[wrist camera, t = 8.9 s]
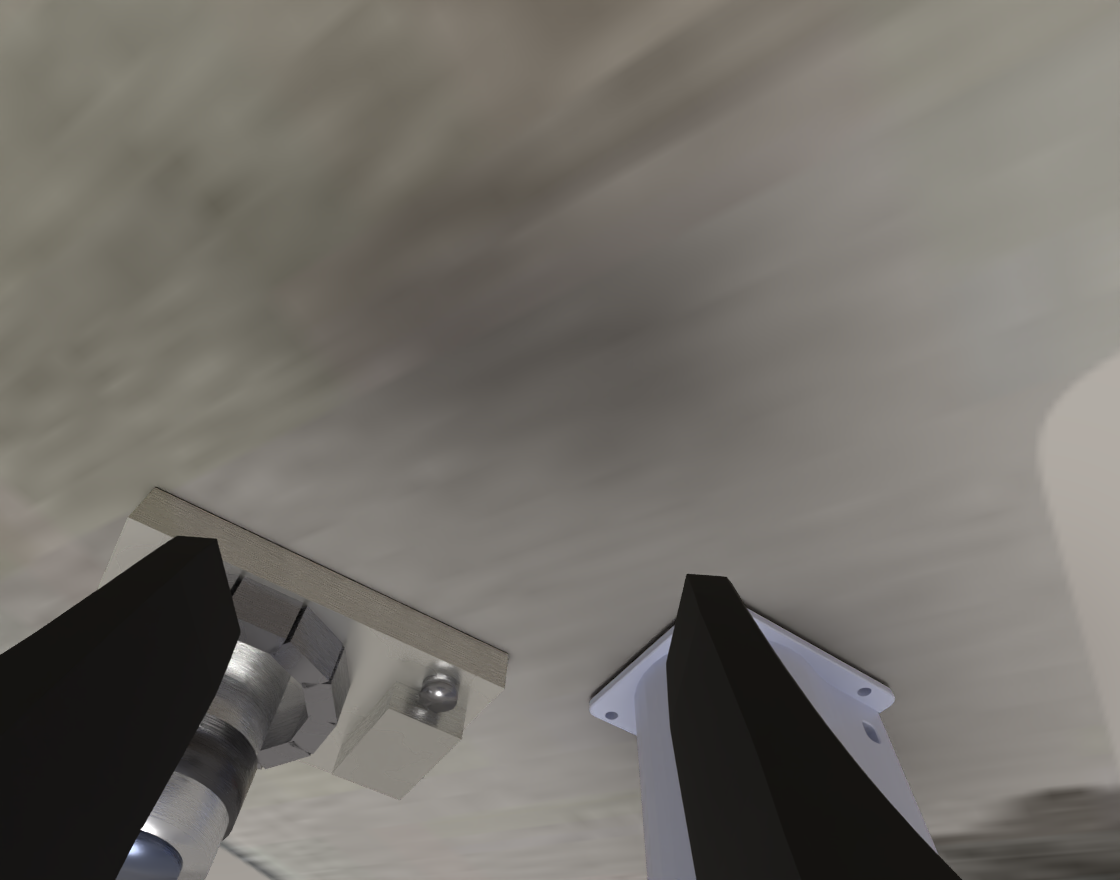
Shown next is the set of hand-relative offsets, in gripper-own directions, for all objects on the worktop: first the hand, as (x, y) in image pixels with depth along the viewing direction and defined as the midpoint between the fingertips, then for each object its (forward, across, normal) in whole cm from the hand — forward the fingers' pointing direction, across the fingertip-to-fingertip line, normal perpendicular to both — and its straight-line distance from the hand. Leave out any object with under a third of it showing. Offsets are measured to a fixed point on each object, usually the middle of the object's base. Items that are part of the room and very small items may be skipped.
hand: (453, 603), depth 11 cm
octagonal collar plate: (+10, +8, +14) cm, 19 cm away
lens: (+9, +10, +13) cm, 18 cm away
